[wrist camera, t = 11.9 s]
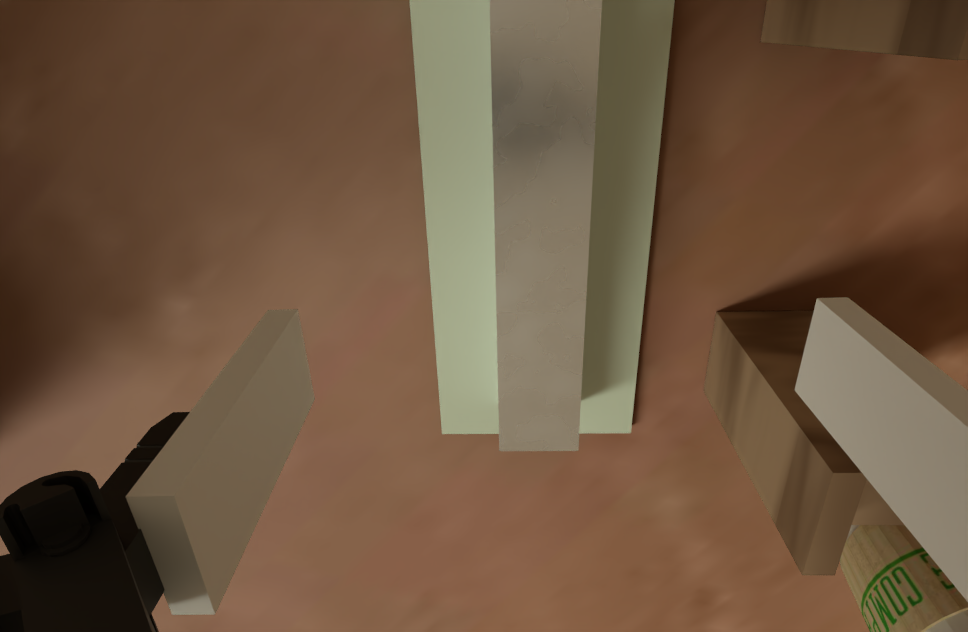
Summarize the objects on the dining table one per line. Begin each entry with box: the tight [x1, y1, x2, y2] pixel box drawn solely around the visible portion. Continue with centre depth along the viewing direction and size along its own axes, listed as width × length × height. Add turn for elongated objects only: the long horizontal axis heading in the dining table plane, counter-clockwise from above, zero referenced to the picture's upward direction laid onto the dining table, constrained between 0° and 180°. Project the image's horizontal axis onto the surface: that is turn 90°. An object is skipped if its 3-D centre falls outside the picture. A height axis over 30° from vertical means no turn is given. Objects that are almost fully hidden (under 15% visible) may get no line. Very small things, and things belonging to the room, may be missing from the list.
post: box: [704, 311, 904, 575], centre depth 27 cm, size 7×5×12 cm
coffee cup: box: [840, 525, 968, 632], centre depth 30 cm, size 10×10×15 cm
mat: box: [410, 0, 675, 434], centre depth 29 cm, size 11×28×1 cm, turn 2°
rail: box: [490, 0, 602, 451], centre depth 27 cm, size 24×4×4 cm, turn 2°
